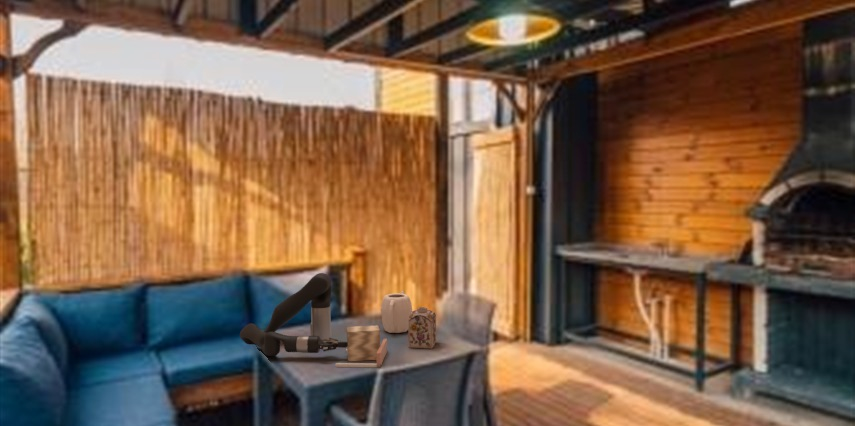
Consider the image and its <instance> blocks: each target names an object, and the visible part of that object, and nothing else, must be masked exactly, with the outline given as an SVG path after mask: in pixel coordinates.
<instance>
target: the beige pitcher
mask: <svg viewBox="0 0 855 426" xmlns="http://www.w3.org/2000/svg"><path fill="white" fill-rule="evenodd" d="M380 306H381V307H380V313H381V320H382V322H381V323H382V326H383V329H384V331H385V332H387V333H390V334H391V333H392V334H401V333H406V332H407V331H408V325H409V320H408V319H409V316H410V313H411V312H412V311H413V307H412V301H411V298H410V295H408V294H406V293H405V290H401V293H399V292H398V293H396V292H395V293H388V294H386V295H384V296H383V298H382V302H381V305H380Z"/></svg>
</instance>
